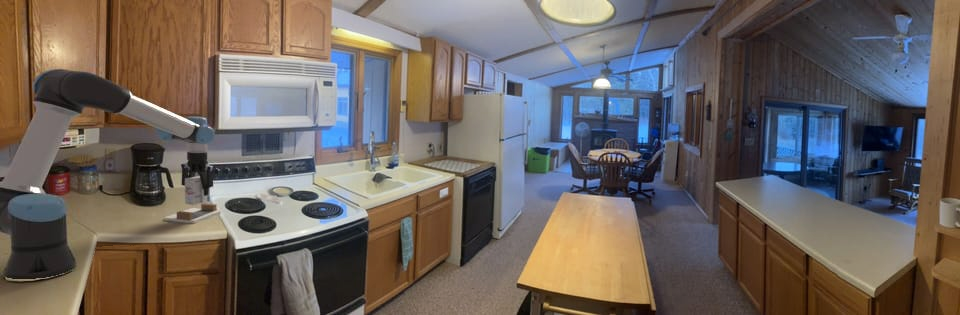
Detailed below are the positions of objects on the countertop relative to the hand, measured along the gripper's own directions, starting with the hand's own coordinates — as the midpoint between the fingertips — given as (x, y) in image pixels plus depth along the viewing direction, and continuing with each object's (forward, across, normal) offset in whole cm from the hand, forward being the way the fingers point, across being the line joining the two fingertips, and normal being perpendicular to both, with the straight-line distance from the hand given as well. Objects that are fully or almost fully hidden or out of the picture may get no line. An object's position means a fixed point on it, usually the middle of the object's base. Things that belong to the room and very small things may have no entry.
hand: (197, 201), depth 188 cm
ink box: (+1, 0, 0) cm, 1 cm away
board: (+7, +2, 0) cm, 8 cm away
